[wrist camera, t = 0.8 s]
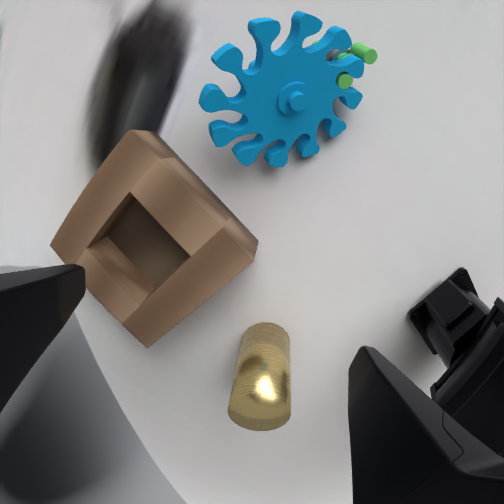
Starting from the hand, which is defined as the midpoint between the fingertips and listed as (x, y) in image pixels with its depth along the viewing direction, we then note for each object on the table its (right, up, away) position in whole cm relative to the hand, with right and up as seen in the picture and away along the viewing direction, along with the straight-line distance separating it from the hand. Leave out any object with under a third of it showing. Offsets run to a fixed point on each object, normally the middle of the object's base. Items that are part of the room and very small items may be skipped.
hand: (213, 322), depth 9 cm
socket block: (-6, +3, +14) cm, 15 cm away
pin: (+2, -6, +16) cm, 17 cm away
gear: (+4, +12, +10) cm, 16 cm away
